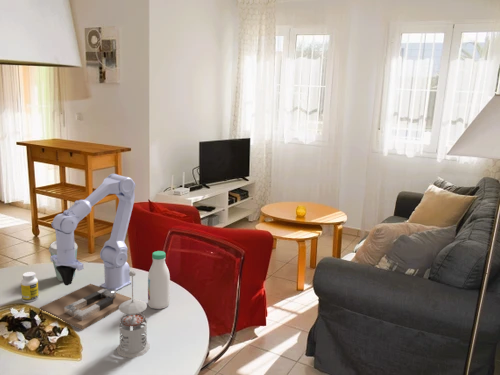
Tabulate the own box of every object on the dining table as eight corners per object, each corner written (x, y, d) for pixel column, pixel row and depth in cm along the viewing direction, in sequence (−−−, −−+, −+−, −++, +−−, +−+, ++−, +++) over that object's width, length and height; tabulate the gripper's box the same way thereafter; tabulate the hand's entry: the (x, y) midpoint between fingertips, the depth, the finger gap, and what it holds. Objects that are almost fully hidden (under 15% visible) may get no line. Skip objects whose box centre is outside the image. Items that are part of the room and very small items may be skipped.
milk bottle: (173, 302, 155) (174, 251, 151) (161, 311, 148) (161, 258, 144) (156, 297, 158) (156, 247, 154) (143, 306, 152) (143, 254, 147)
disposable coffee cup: (83, 278, 170) (82, 243, 167) (56, 286, 163) (54, 250, 159) (72, 270, 177) (71, 236, 174) (46, 277, 170) (43, 242, 166)
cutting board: (90, 287, 164) (90, 283, 163) (131, 301, 154) (131, 298, 154) (39, 311, 145) (39, 307, 144) (82, 329, 135) (82, 325, 135)
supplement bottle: (31, 303, 150) (30, 278, 147) (18, 301, 151) (16, 276, 148) (42, 296, 155) (40, 271, 153) (29, 294, 156) (27, 269, 154)
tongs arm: (106, 292, 157) (106, 286, 156) (118, 296, 154) (118, 290, 153) (64, 312, 142) (63, 306, 141) (76, 318, 139) (76, 311, 138)
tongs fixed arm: (105, 300, 151) (105, 295, 151) (113, 303, 149) (113, 298, 149) (74, 317, 139) (73, 311, 139) (82, 321, 138) (82, 314, 137)
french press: (118, 360, 121) (116, 280, 115) (114, 338, 131) (112, 264, 126) (152, 353, 125) (152, 275, 119) (146, 332, 135) (145, 260, 130)
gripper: (41, 247, 146) (44, 283, 149) (70, 256, 139) (72, 293, 142) (59, 241, 152) (61, 276, 155) (87, 249, 145) (89, 285, 149)
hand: (67, 284), depth 149 cm, fingers closed
